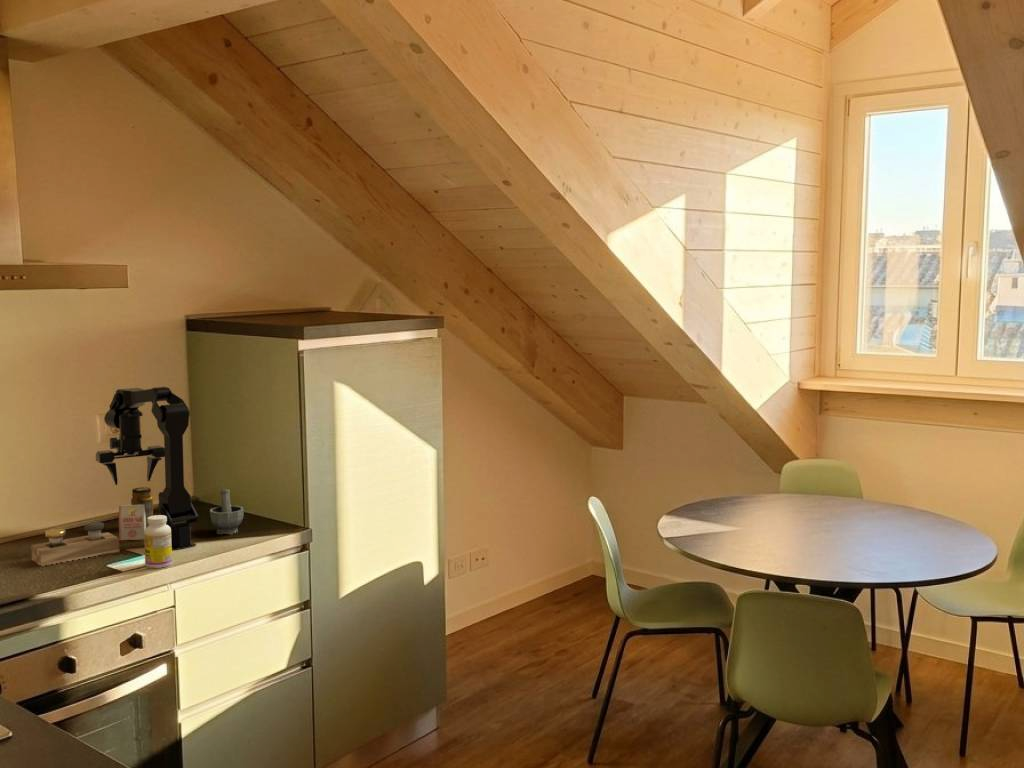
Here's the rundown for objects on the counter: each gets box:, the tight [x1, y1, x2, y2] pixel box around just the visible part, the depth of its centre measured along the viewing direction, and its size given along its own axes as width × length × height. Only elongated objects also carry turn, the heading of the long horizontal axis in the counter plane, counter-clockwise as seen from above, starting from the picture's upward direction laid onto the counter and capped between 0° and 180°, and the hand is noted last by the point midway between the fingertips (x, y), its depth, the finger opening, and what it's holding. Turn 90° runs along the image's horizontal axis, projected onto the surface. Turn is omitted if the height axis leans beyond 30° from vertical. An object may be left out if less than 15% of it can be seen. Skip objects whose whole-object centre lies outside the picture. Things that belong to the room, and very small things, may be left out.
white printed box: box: [118, 504, 146, 542], centre depth 278 cm, size 4×7×10 cm, turn 103°
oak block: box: [30, 531, 120, 567], centre depth 261 cm, size 8×20×4 cm, turn 133°
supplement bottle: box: [143, 514, 173, 569], centre depth 252 cm, size 7×7×13 cm
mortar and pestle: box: [209, 488, 245, 536], centre depth 287 cm, size 11×9×12 cm
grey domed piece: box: [84, 522, 105, 541], centre depth 264 cm, size 5×5×4 cm
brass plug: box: [45, 528, 66, 548], centre depth 257 cm, size 5×5×4 cm
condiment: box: [130, 486, 154, 528], centre depth 290 cm, size 7×8×12 cm
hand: (132, 482), depth 288 cm, fingers open, 9 cm apart
